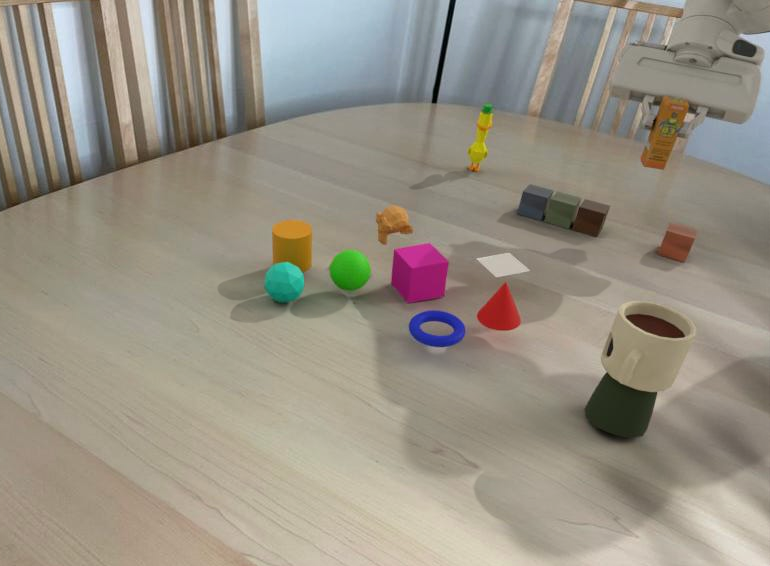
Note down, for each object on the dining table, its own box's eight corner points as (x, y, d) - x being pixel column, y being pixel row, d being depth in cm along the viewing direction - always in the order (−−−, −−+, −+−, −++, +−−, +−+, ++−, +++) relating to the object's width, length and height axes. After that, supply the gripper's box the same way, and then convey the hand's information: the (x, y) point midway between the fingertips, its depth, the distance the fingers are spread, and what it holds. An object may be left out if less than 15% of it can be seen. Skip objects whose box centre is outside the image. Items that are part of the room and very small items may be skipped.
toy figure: (467, 161, 140) (481, 96, 133) (486, 164, 139) (501, 100, 133) (462, 173, 135) (476, 106, 128) (481, 176, 134) (497, 110, 127)
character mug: (600, 386, 84) (640, 285, 76) (664, 415, 80) (712, 313, 73) (560, 431, 76) (599, 325, 69) (628, 466, 73) (677, 358, 65)
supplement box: (642, 167, 112) (666, 101, 107) (639, 159, 115) (662, 94, 109) (665, 171, 112) (690, 104, 106) (661, 163, 115) (686, 97, 109)
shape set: (238, 265, 103) (236, 217, 98) (463, 227, 112) (470, 182, 108) (312, 396, 80) (313, 341, 76) (585, 334, 90) (599, 282, 85)
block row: (523, 206, 124) (529, 183, 122) (688, 252, 114) (698, 229, 112) (516, 214, 121) (522, 191, 119) (684, 262, 112) (695, 238, 109)
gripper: (628, 25, 113) (594, 104, 111) (777, 52, 105) (743, 137, 103) (624, 51, 118) (592, 126, 117) (765, 78, 111) (733, 159, 109)
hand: (664, 132), depth 110 cm, fingers closed on supplement box, 4 cm apart
